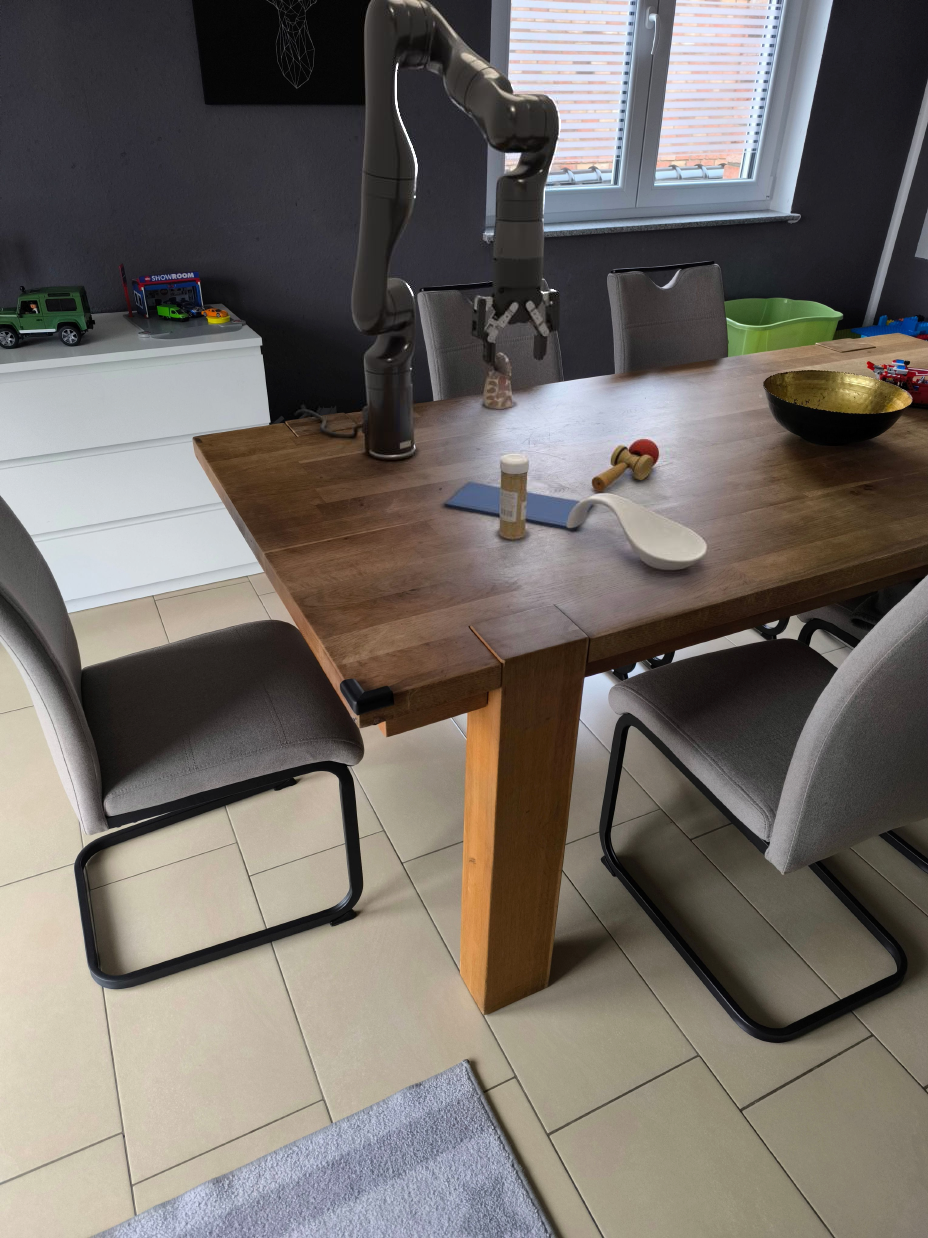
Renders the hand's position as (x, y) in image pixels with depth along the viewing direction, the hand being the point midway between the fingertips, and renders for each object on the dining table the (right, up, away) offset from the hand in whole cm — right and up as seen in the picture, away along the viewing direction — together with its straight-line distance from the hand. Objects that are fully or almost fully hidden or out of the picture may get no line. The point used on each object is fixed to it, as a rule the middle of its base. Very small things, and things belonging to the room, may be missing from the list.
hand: (514, 361), depth 133 cm
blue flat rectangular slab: (+2, -21, +16) cm, 26 cm away
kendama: (+23, -14, +26) cm, 38 cm away
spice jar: (0, -27, +6) cm, 28 cm away
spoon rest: (+19, -30, +1) cm, 35 cm away
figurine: (0, +10, +65) cm, 65 cm away
